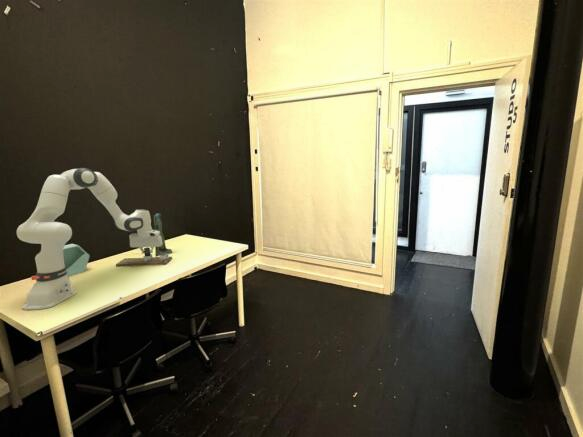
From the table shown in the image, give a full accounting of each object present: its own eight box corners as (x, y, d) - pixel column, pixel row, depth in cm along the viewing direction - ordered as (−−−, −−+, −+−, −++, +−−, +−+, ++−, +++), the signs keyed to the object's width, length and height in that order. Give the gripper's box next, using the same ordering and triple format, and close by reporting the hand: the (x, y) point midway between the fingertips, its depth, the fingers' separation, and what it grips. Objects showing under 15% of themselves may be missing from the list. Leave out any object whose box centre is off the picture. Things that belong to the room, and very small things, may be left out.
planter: (73, 282, 185) (46, 260, 172) (67, 279, 189) (40, 258, 176) (95, 260, 195) (71, 239, 182) (89, 258, 199) (65, 237, 186)
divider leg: (148, 261, 200) (146, 250, 198) (142, 262, 199) (140, 250, 198) (152, 258, 207) (151, 247, 205) (146, 258, 207) (145, 247, 205)
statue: (172, 253, 224) (168, 213, 218) (156, 256, 218) (152, 215, 212) (170, 250, 229) (166, 212, 223) (154, 253, 223) (150, 213, 217)
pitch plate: (166, 264, 200) (165, 255, 198) (115, 266, 198) (114, 257, 197) (171, 258, 211) (171, 250, 210) (124, 260, 209) (123, 252, 208)
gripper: (126, 234, 197) (129, 255, 200) (158, 233, 198) (161, 253, 201) (131, 232, 203) (133, 252, 206) (162, 231, 204) (164, 251, 207)
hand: (147, 253), depth 203 cm, fingers closed on divider leg, 4 cm apart
